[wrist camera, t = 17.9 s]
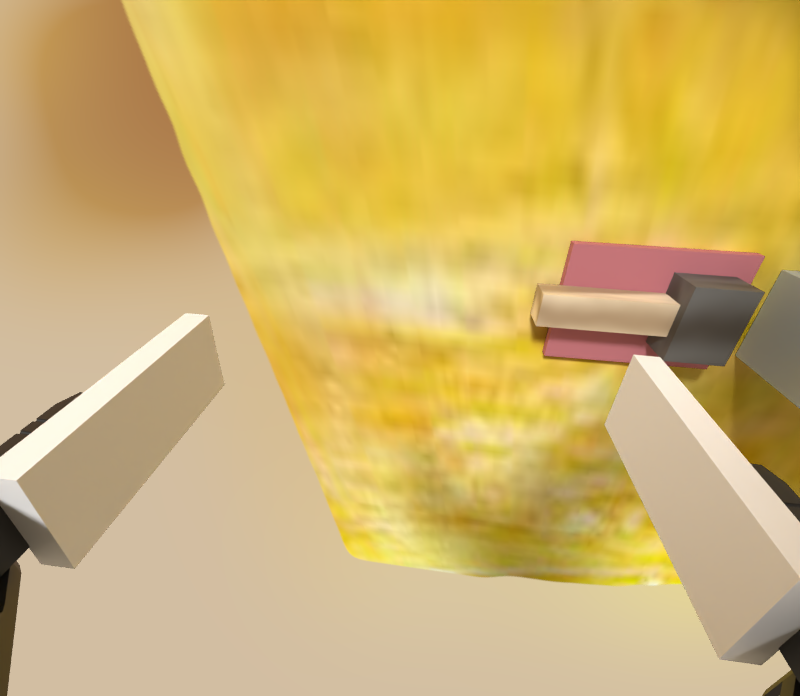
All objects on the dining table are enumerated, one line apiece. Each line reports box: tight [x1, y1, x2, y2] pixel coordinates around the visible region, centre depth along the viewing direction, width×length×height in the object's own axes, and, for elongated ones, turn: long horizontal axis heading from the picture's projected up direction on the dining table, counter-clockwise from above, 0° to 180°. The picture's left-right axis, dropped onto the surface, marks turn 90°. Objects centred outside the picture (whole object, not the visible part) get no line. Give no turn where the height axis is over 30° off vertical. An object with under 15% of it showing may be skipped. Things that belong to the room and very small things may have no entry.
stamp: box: [531, 272, 765, 366], centre depth 40 cm, size 8×19×4 cm, turn 87°
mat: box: [543, 241, 765, 369], centre depth 43 cm, size 13×18×1 cm
